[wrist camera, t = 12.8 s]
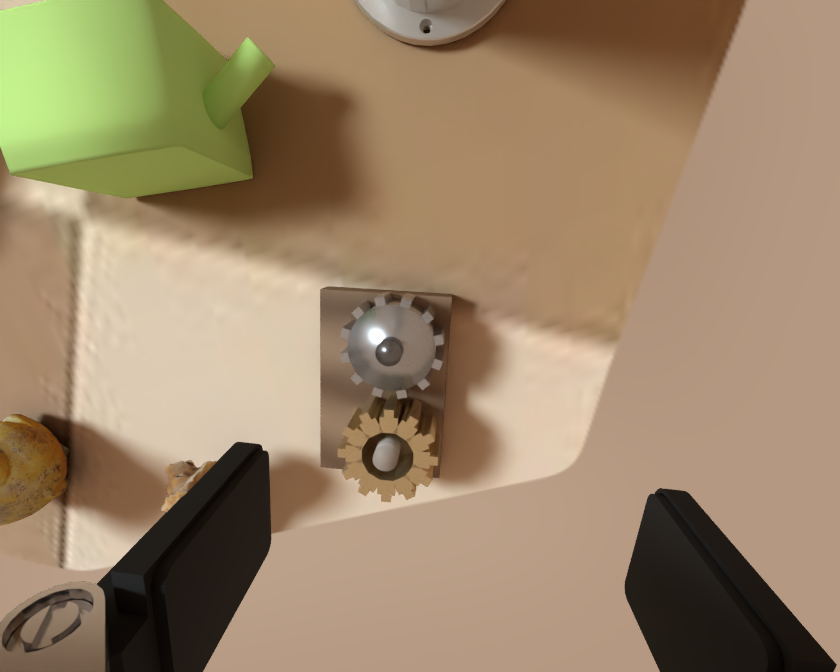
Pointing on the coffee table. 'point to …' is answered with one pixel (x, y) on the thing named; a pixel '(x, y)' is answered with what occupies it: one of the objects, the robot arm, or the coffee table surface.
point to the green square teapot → (122, 98)
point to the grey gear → (393, 344)
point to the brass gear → (409, 466)
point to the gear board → (347, 396)
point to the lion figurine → (182, 480)
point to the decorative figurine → (29, 467)
